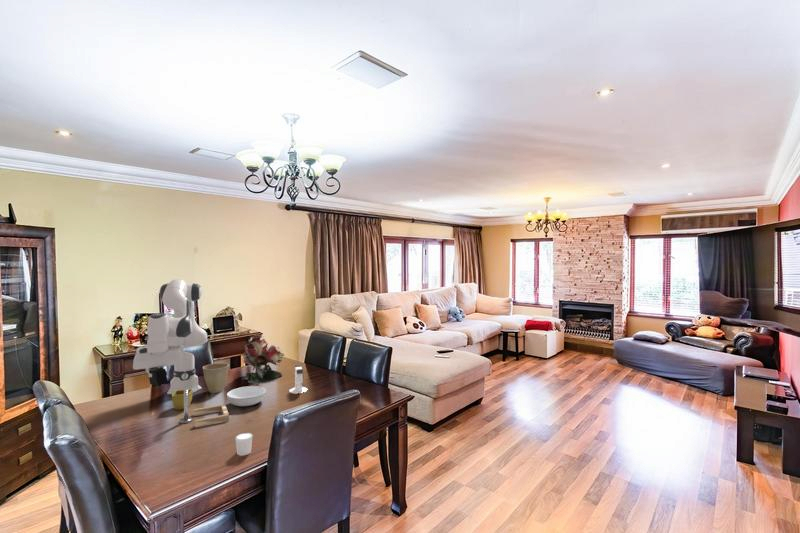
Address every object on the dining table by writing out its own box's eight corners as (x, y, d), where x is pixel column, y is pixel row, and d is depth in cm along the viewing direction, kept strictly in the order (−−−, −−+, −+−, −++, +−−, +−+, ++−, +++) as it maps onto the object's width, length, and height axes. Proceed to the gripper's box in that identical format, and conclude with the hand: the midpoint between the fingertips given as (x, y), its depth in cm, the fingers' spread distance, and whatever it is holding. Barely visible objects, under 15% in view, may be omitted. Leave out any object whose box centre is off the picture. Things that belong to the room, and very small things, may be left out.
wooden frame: (193, 415, 204) (193, 409, 204) (224, 409, 212) (224, 403, 212) (195, 427, 189) (195, 421, 189) (229, 420, 197) (229, 415, 197)
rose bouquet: (288, 374, 277) (288, 333, 277) (254, 385, 252) (254, 340, 252) (265, 369, 291) (265, 329, 290) (230, 379, 266) (230, 336, 265)
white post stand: (309, 392, 239) (309, 368, 239) (290, 394, 235) (290, 370, 235) (306, 386, 250) (306, 363, 250) (288, 388, 246) (288, 365, 246)
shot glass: (254, 448, 168) (254, 432, 168) (249, 456, 161) (249, 439, 161) (239, 448, 168) (239, 432, 168) (232, 456, 161) (232, 440, 161)
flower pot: (171, 411, 208) (171, 395, 208) (176, 406, 217) (176, 390, 216) (189, 410, 211) (189, 394, 210) (193, 404, 219) (193, 388, 219)
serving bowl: (252, 412, 209) (252, 399, 208) (218, 408, 213) (218, 396, 213) (272, 398, 229) (272, 387, 229) (241, 395, 233) (241, 384, 233)
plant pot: (233, 387, 248) (233, 363, 248) (220, 395, 233) (220, 369, 233) (211, 386, 250) (211, 362, 249) (197, 394, 235) (197, 368, 234)
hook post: (179, 420, 197) (179, 389, 197) (192, 417, 200) (192, 387, 200) (179, 427, 189) (179, 395, 189) (193, 424, 192) (193, 393, 192)
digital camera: (170, 382, 183) (168, 367, 183) (158, 386, 179) (155, 371, 179) (162, 380, 190) (159, 366, 190) (150, 384, 186) (147, 370, 185)
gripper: (182, 343, 193) (182, 371, 192) (133, 348, 182) (133, 377, 182) (183, 346, 187) (183, 374, 187) (132, 350, 177) (132, 380, 176)
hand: (158, 376), depth 184 cm, fingers closed on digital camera, 5 cm apart
